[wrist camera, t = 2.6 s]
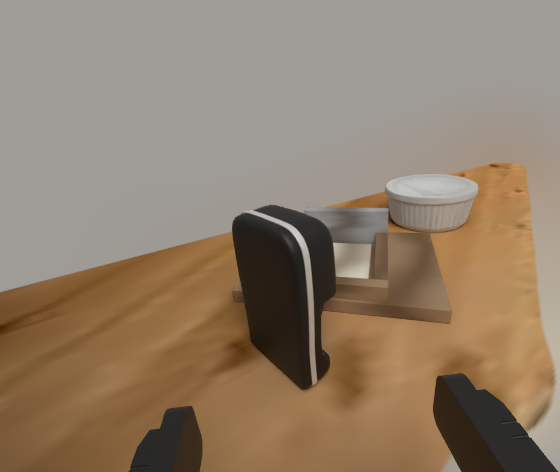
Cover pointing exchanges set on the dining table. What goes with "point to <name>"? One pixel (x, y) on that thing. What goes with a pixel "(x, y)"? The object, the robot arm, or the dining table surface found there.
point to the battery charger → (286, 286)
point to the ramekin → (430, 201)
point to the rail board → (380, 268)
